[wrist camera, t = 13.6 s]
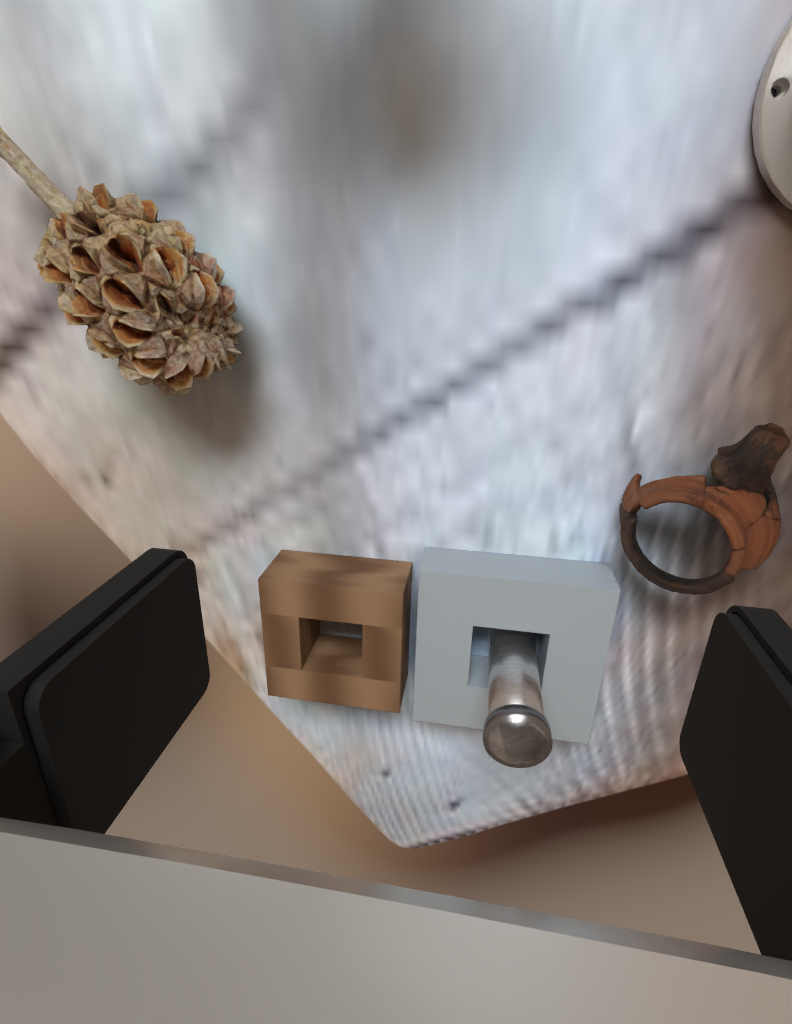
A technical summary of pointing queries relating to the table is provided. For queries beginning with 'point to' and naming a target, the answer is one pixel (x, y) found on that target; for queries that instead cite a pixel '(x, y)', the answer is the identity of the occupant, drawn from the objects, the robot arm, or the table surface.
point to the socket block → (512, 606)
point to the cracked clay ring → (717, 508)
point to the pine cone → (133, 283)
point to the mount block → (341, 598)
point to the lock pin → (515, 702)
